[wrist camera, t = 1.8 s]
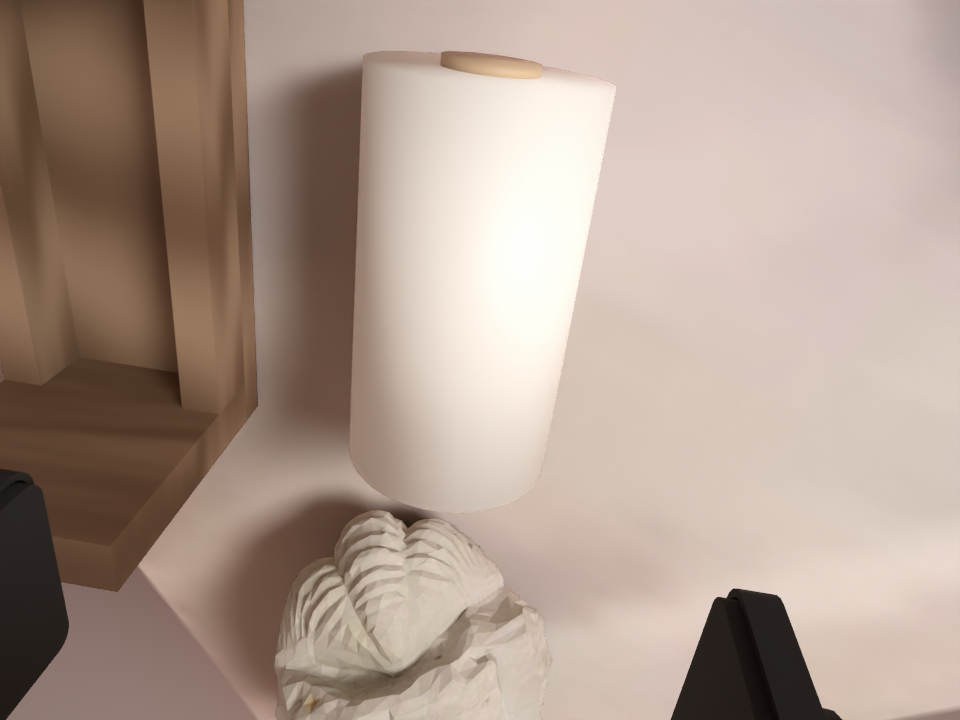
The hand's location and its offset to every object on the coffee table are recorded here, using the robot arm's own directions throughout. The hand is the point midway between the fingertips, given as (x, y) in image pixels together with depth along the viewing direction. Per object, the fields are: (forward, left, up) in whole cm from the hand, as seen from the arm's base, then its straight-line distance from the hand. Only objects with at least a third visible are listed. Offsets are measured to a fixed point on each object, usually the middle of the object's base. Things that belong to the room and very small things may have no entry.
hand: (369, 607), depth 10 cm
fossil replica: (+15, 0, -14) cm, 20 cm away
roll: (-1, 0, -14) cm, 14 cm away
